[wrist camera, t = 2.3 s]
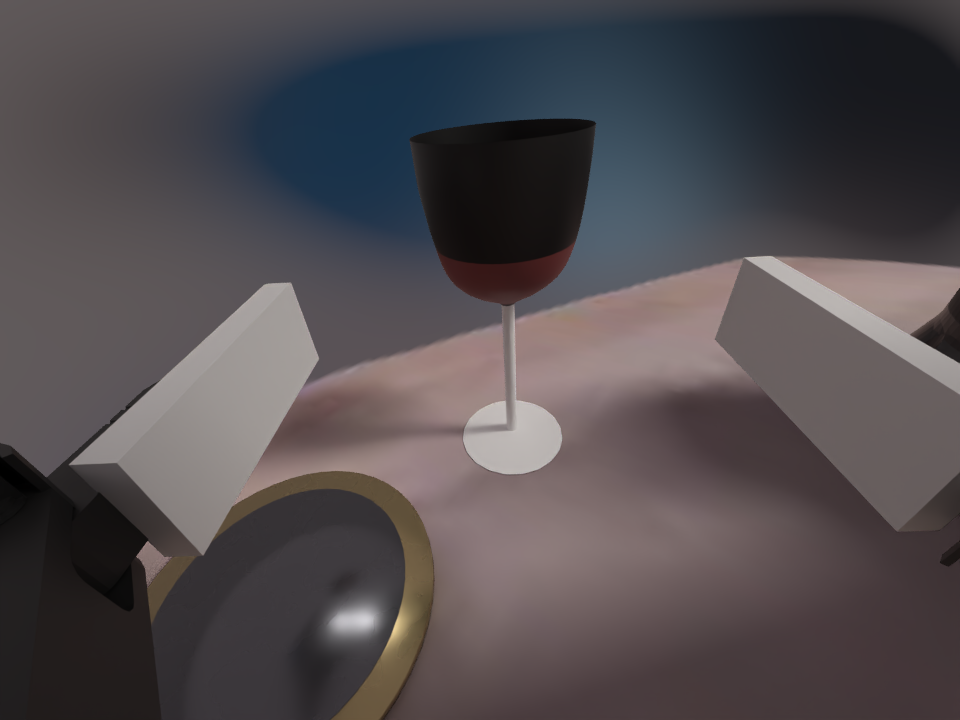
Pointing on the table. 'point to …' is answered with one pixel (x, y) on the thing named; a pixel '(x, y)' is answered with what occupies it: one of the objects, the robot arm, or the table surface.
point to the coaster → (296, 606)
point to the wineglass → (506, 247)
